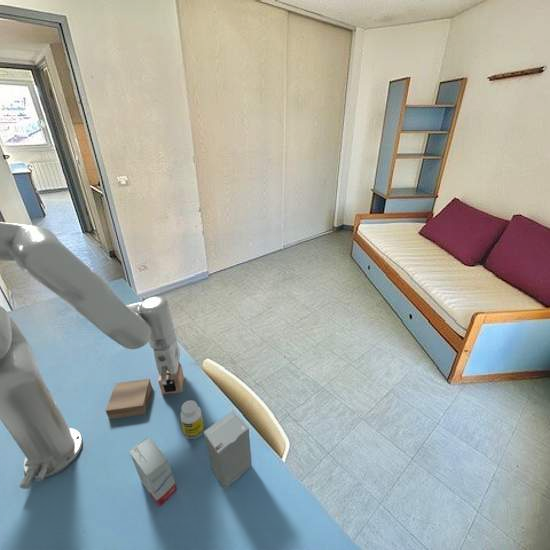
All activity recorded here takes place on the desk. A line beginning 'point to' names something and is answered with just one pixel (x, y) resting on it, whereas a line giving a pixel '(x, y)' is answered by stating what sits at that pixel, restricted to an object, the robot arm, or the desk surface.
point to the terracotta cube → (177, 380)
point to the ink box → (153, 470)
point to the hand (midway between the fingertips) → (173, 378)
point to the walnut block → (129, 399)
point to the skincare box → (228, 448)
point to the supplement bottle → (191, 419)
